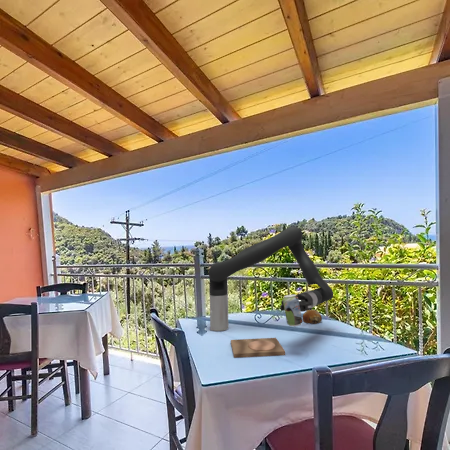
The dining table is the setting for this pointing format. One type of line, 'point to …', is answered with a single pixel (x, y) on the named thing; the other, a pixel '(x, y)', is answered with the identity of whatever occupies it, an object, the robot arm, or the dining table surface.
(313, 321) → the bread roll
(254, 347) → the serving board
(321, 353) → the dining table surface
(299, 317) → the beverage can
